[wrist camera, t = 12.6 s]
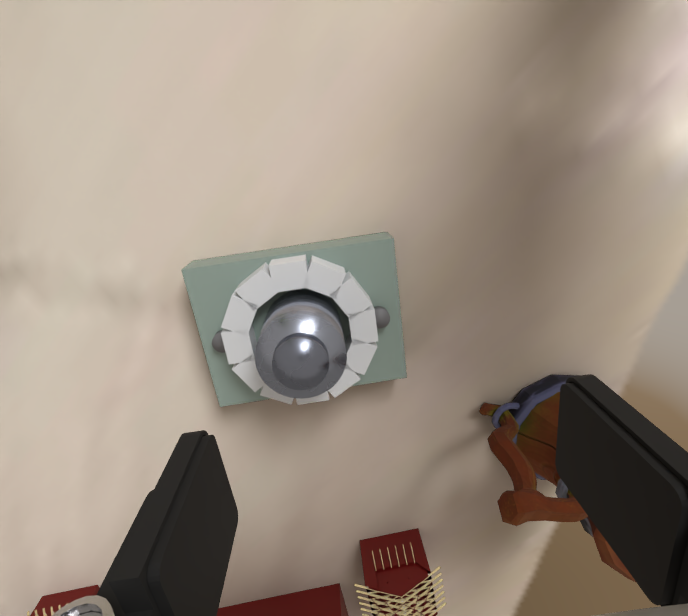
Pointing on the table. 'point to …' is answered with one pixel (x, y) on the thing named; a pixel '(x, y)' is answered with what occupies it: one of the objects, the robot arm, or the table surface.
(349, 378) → the block
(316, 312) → the hub
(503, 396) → the table surface
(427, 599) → the toy houses
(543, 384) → the mug
